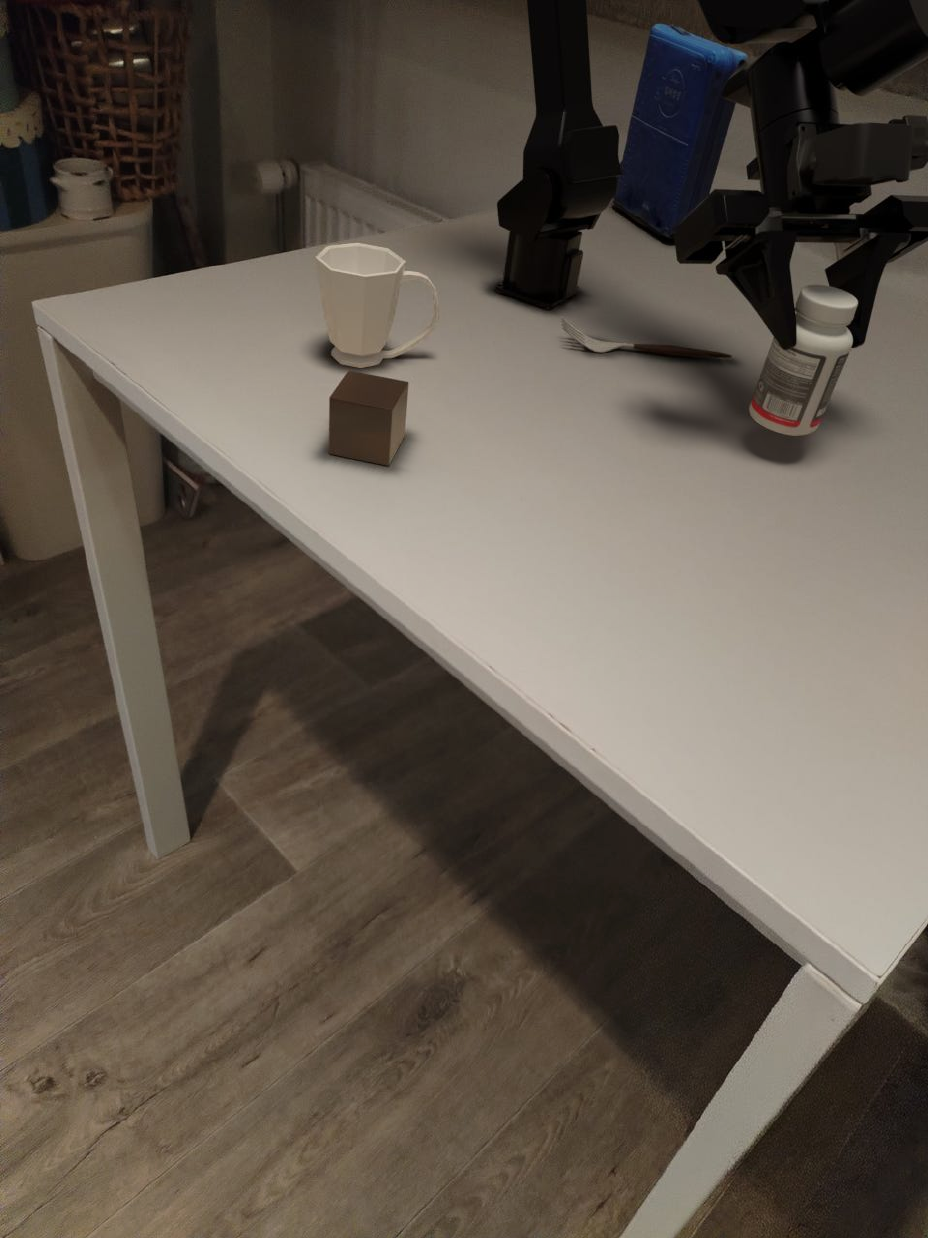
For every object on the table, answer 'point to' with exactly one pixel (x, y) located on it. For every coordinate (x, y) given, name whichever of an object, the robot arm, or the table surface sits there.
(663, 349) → the fork
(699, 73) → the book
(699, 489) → the table surface
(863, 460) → the table surface
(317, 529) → the table surface
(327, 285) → the cup
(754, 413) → the pill bottle
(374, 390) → the walnut block
